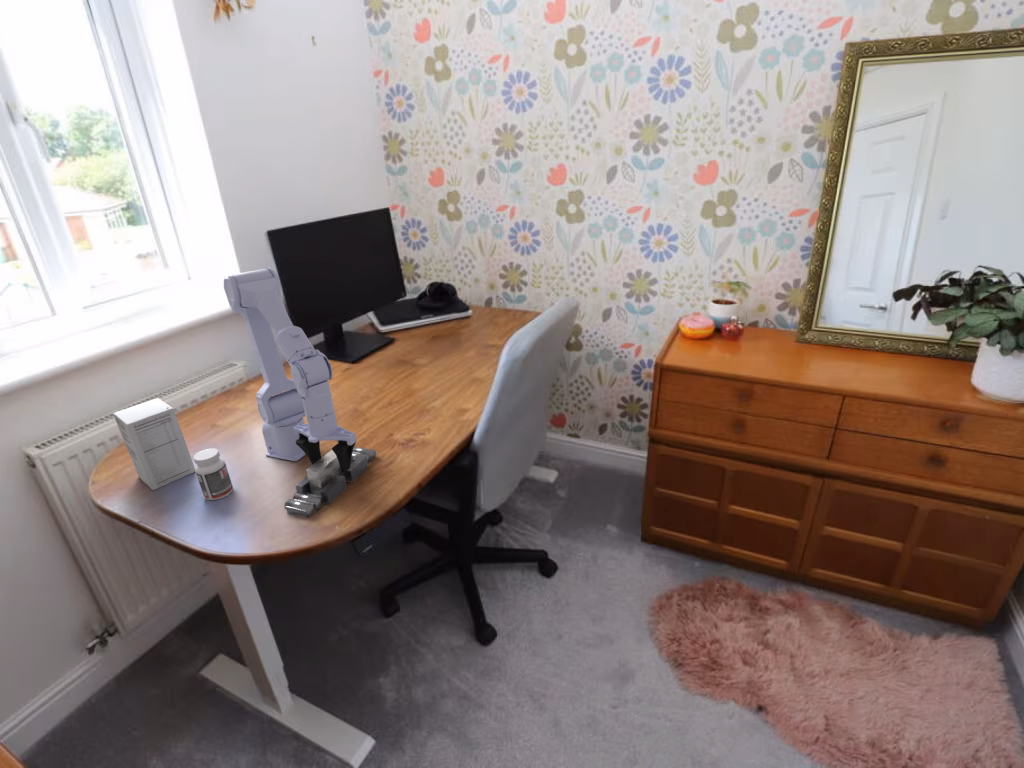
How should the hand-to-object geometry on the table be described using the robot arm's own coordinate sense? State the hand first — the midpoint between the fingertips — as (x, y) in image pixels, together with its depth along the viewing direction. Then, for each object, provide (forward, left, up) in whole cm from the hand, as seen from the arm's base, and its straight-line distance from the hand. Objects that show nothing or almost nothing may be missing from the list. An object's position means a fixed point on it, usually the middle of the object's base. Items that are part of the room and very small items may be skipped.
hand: (331, 467), depth 115 cm
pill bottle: (-22, -11, -4) cm, 25 cm away
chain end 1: (0, -7, -4) cm, 8 cm away
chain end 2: (0, +6, -4) cm, 8 cm away
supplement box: (-40, -9, -4) cm, 41 cm away
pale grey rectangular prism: (0, 0, -3) cm, 3 cm away
